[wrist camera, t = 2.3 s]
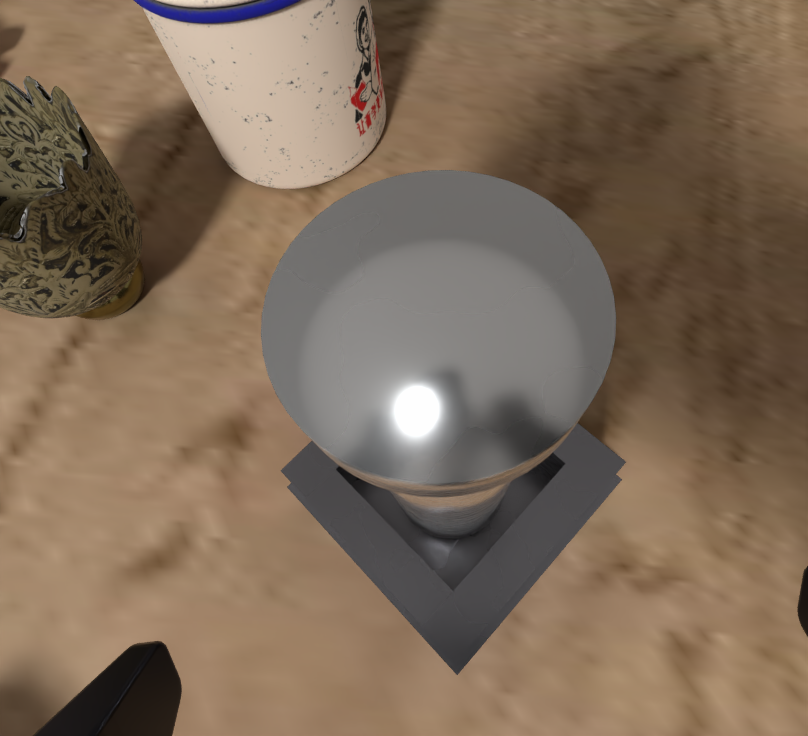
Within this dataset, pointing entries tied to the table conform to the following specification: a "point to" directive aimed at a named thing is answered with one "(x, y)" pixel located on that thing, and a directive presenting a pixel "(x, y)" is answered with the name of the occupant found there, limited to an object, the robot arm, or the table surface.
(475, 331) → the silver mushroom peg
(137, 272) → the cup
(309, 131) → the teacup with lid
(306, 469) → the collar
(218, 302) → the table surface
